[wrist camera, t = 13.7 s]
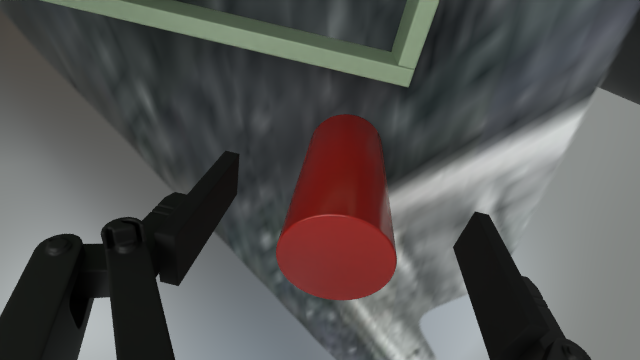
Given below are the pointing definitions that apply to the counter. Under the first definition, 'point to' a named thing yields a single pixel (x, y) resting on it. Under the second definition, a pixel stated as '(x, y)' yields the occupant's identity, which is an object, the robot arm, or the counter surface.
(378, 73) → the green open box
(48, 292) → the robot arm
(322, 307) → the counter surface
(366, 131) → the tin
